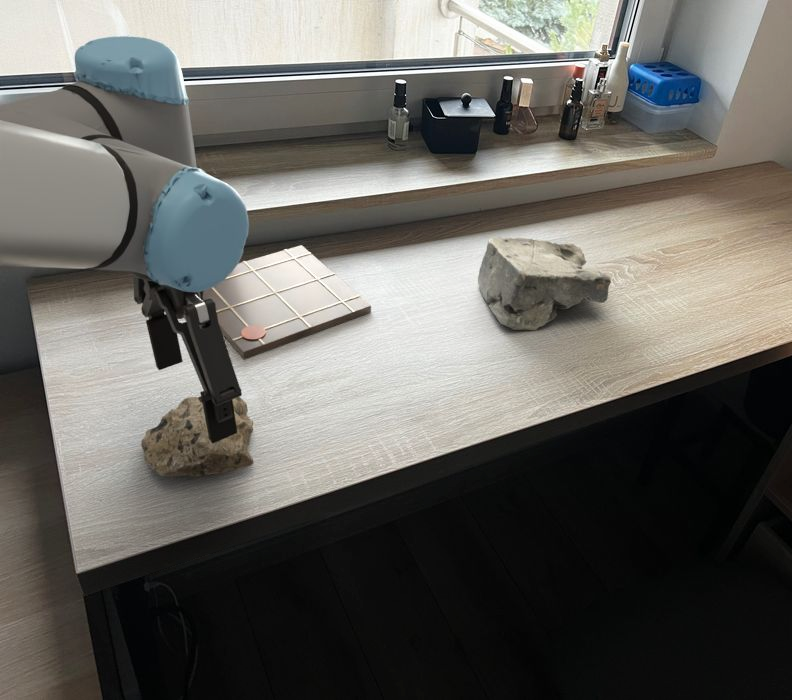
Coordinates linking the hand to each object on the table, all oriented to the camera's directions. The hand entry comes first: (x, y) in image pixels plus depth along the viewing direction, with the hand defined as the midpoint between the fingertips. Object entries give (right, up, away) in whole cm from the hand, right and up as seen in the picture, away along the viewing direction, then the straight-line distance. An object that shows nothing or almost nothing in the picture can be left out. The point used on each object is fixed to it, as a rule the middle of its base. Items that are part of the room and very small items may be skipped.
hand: (195, 398), depth 78 cm
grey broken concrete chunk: (+41, +13, +35) cm, 55 cm away
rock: (-1, -6, +5) cm, 8 cm away
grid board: (+1, +13, +28) cm, 31 cm away
